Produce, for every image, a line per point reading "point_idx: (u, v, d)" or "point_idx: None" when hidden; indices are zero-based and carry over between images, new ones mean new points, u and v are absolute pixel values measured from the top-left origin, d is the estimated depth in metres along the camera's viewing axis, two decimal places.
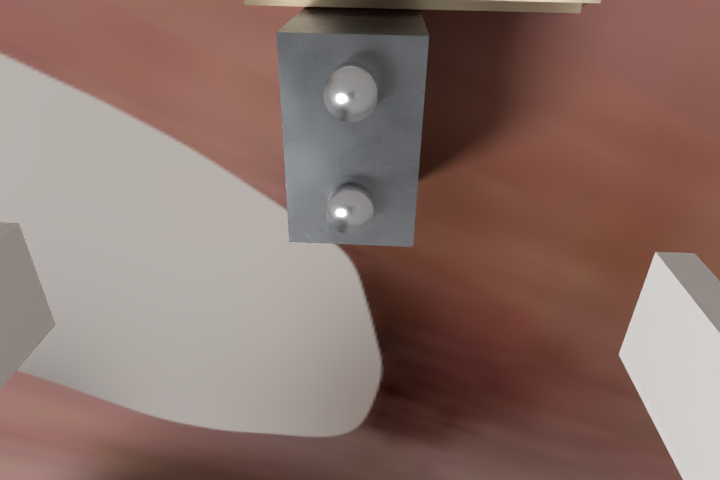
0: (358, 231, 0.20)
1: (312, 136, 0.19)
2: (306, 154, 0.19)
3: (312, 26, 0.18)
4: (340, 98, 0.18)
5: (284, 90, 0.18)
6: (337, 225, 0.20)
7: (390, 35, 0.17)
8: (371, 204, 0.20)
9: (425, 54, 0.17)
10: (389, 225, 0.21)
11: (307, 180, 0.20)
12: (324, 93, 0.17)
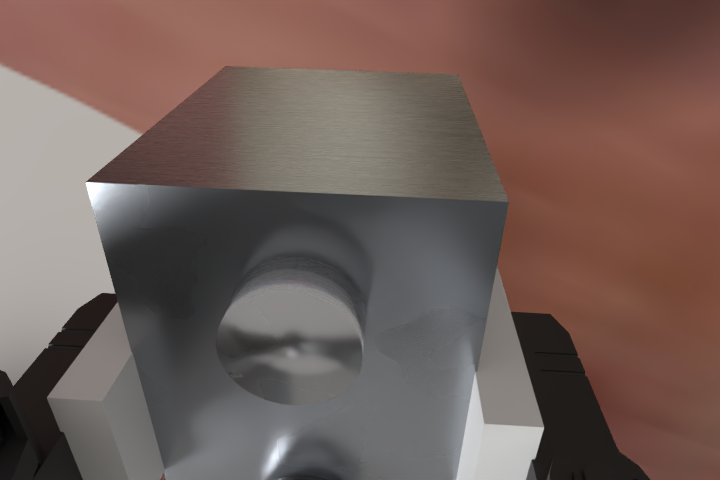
0: None
1: (211, 396, 0.08)
2: (201, 426, 0.08)
3: (204, 144, 0.07)
4: (262, 358, 0.06)
5: (130, 308, 0.07)
6: None
7: (399, 196, 0.06)
8: None
9: (494, 244, 0.06)
10: None
11: (209, 467, 0.09)
12: (219, 345, 0.06)
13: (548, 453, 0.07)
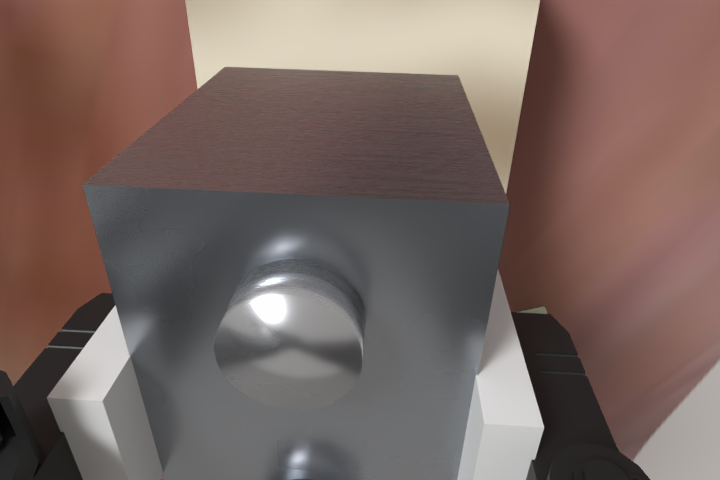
0: None
1: (210, 399, 0.08)
2: (200, 430, 0.08)
3: (203, 146, 0.07)
4: (261, 362, 0.06)
5: (128, 311, 0.07)
6: None
7: (399, 199, 0.06)
8: None
9: (495, 247, 0.06)
10: None
11: (208, 470, 0.09)
12: (217, 349, 0.06)
13: (548, 453, 0.07)
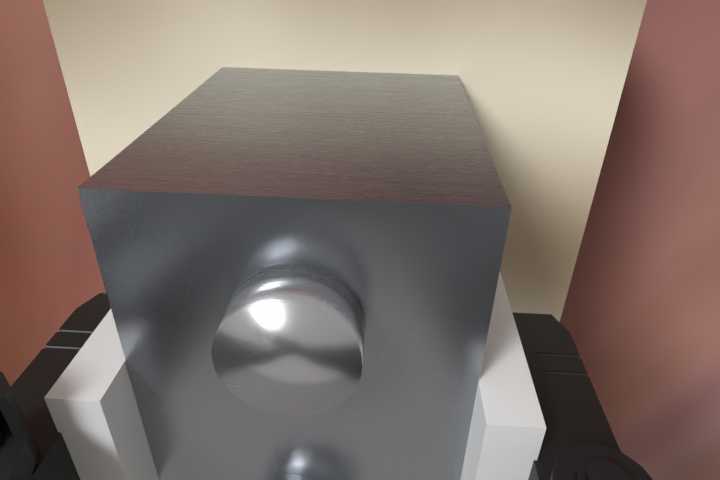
0: None
1: (207, 405, 0.08)
2: (198, 435, 0.08)
3: (200, 148, 0.07)
4: (259, 368, 0.06)
5: (124, 316, 0.07)
6: None
7: (399, 202, 0.06)
8: None
9: (497, 250, 0.06)
10: None
11: (206, 476, 0.09)
12: (215, 355, 0.06)
13: (550, 454, 0.07)
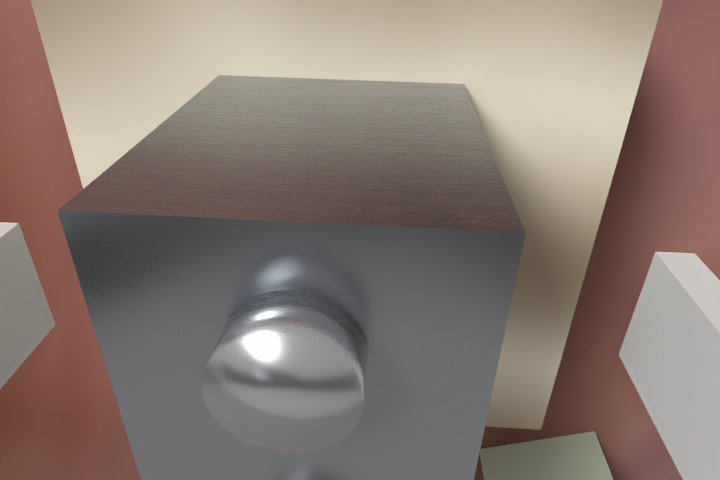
0: None
1: (200, 435, 0.07)
2: (190, 466, 0.08)
3: (191, 164, 0.07)
4: (253, 403, 0.06)
5: (110, 344, 0.07)
6: None
7: (404, 226, 0.06)
8: None
9: (509, 278, 0.06)
10: None
11: None
12: (205, 389, 0.06)
13: None
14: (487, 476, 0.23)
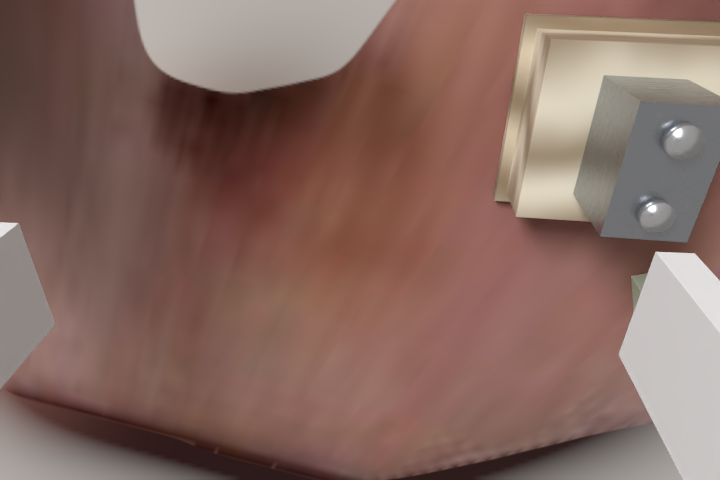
0: (660, 230, 0.30)
1: (641, 166, 0.29)
2: (632, 178, 0.29)
3: (649, 95, 0.28)
4: (678, 144, 0.27)
5: (632, 137, 0.28)
6: (646, 226, 0.30)
7: (715, 105, 0.27)
8: (674, 212, 0.29)
9: None
10: (675, 227, 0.30)
11: (627, 195, 0.30)
12: (668, 141, 0.27)
13: None
14: (639, 285, 0.44)
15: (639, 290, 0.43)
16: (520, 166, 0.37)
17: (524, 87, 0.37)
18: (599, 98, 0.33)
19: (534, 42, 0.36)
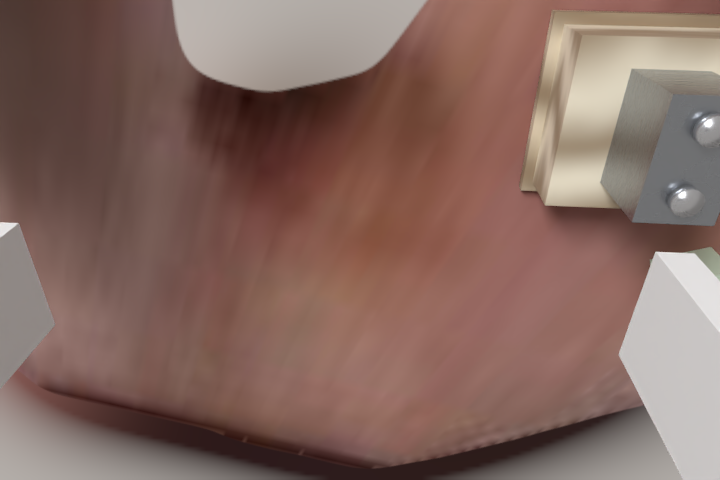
0: (690, 215, 0.32)
1: (672, 155, 0.31)
2: (664, 166, 0.31)
3: (680, 88, 0.30)
4: (709, 134, 0.29)
5: (665, 127, 0.30)
6: (677, 211, 0.32)
7: None
8: (704, 198, 0.31)
9: None
10: (702, 211, 0.32)
11: (658, 182, 0.32)
12: (699, 130, 0.29)
13: None
14: None
15: None
16: (548, 157, 0.39)
17: (551, 81, 0.39)
18: (627, 90, 0.34)
19: (561, 37, 0.37)
